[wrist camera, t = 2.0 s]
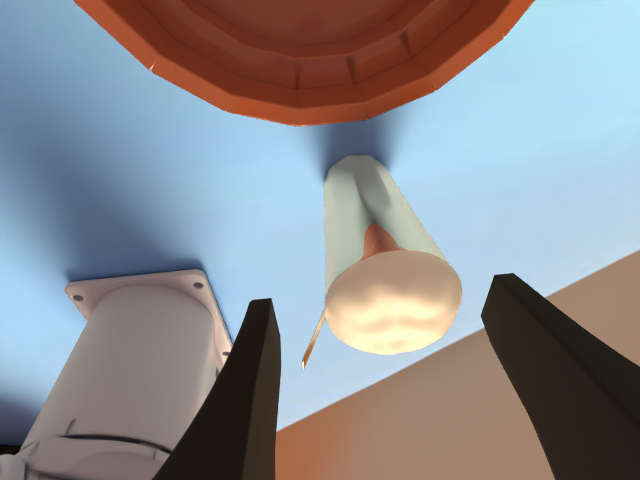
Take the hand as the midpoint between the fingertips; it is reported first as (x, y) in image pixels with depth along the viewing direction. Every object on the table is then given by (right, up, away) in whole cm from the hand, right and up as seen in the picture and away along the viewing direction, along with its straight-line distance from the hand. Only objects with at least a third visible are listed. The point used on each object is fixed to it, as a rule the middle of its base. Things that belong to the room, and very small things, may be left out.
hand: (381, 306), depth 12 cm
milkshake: (-1, +5, +6) cm, 8 cm away
